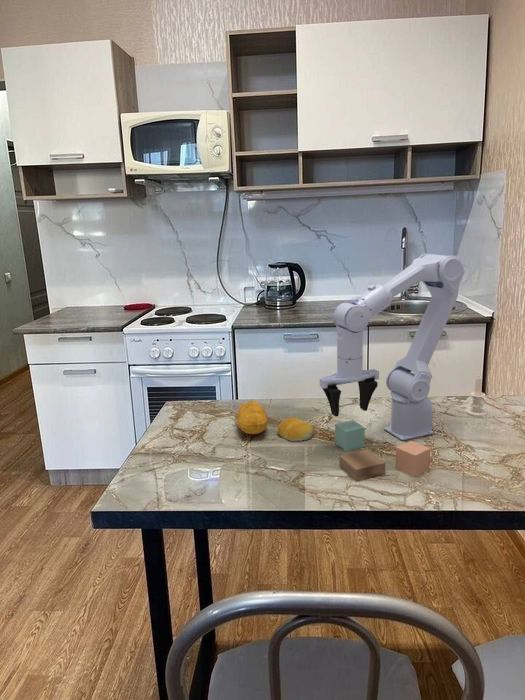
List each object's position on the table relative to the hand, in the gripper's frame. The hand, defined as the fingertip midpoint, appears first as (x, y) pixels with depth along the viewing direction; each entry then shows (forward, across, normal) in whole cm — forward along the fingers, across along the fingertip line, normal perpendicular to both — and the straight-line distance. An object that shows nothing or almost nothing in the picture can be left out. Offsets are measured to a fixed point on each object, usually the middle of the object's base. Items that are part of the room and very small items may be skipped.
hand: (349, 412), depth 122 cm
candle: (+8, -40, -2) cm, 41 cm away
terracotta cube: (+8, -6, +16) cm, 19 cm away
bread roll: (+9, +9, -11) cm, 17 cm away
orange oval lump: (+9, +18, -18) cm, 27 cm away
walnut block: (+9, +4, +12) cm, 15 cm away
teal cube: (+8, 0, 0) cm, 8 cm away
